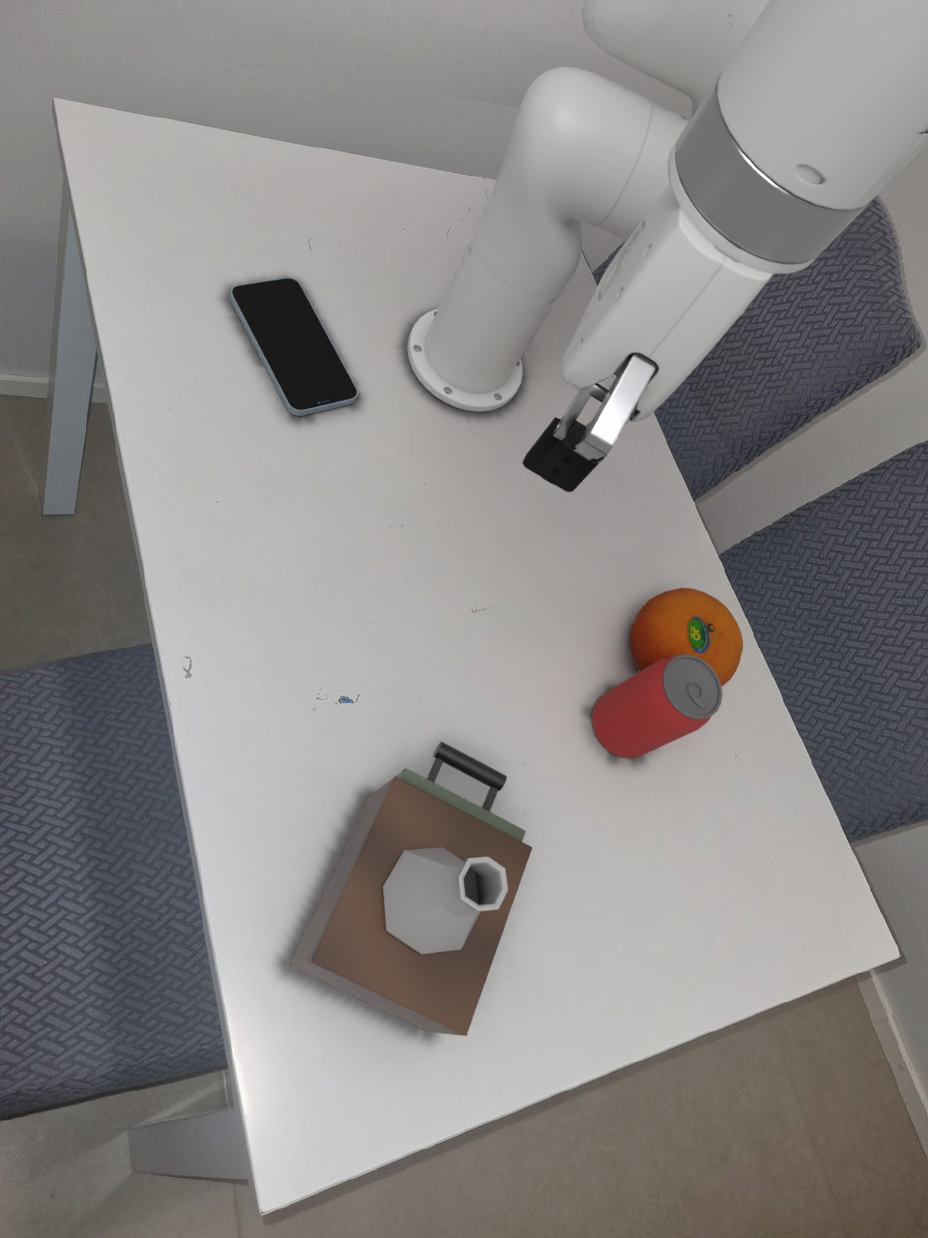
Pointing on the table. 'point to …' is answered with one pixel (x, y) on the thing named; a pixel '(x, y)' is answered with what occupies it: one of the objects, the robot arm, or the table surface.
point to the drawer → (473, 770)
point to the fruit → (687, 631)
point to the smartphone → (293, 345)
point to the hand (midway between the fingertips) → (574, 413)
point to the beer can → (657, 706)
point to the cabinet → (356, 926)
